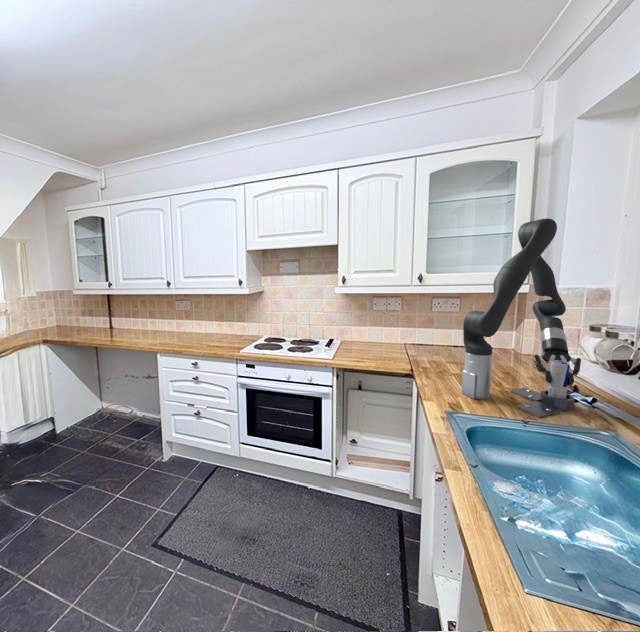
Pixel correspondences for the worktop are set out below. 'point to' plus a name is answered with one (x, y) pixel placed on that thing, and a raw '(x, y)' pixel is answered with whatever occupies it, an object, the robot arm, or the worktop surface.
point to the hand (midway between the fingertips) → (560, 383)
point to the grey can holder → (543, 403)
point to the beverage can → (558, 379)
